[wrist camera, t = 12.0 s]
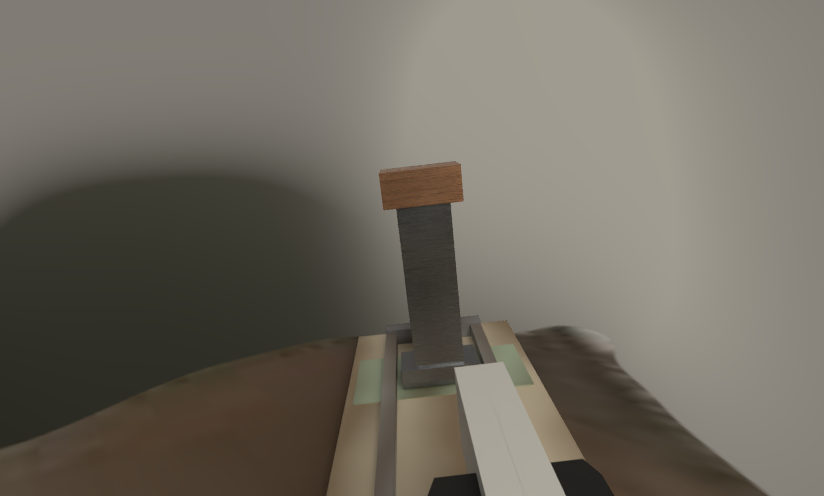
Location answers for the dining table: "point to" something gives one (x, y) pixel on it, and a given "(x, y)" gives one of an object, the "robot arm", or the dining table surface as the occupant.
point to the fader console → (426, 415)
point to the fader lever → (429, 269)
